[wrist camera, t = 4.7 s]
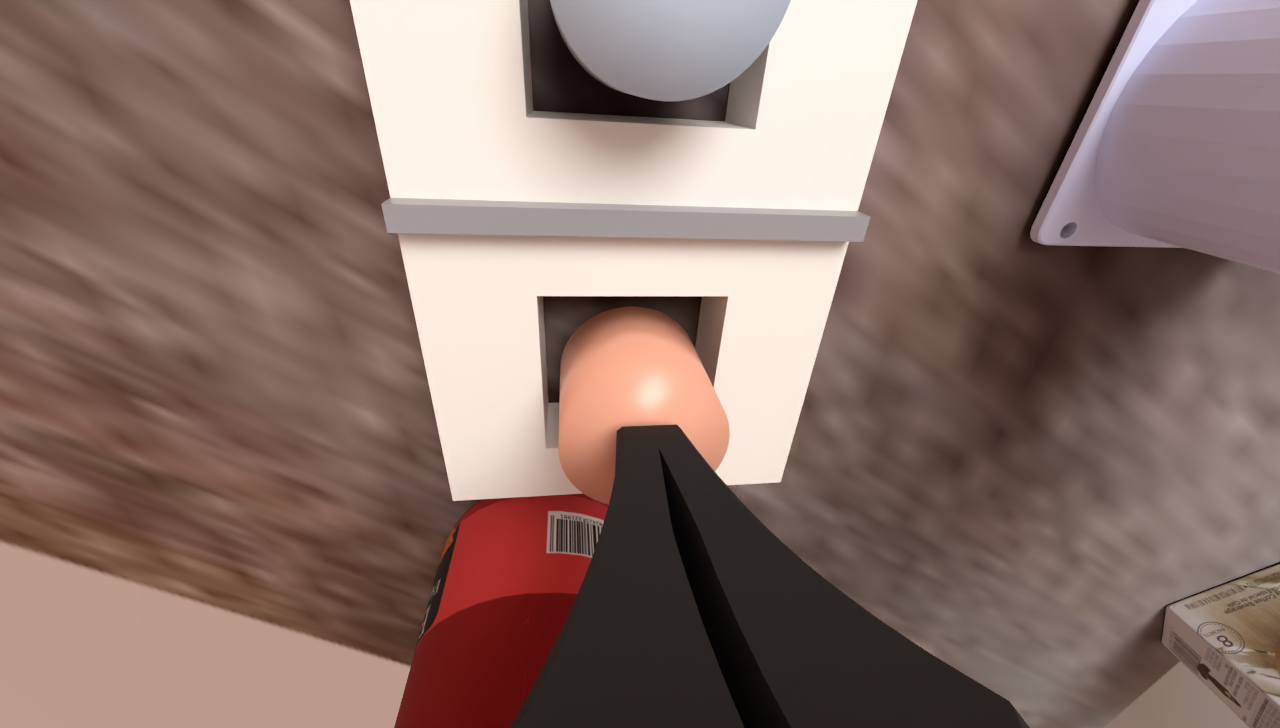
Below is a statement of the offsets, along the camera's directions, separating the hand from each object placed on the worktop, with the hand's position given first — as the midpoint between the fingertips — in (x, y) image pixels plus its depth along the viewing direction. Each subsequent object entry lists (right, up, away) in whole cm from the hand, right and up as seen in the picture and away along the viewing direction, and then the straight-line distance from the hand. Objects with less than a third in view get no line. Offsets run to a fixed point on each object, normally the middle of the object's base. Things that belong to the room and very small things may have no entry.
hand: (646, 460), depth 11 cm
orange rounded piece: (0, +2, +3) cm, 4 cm away
